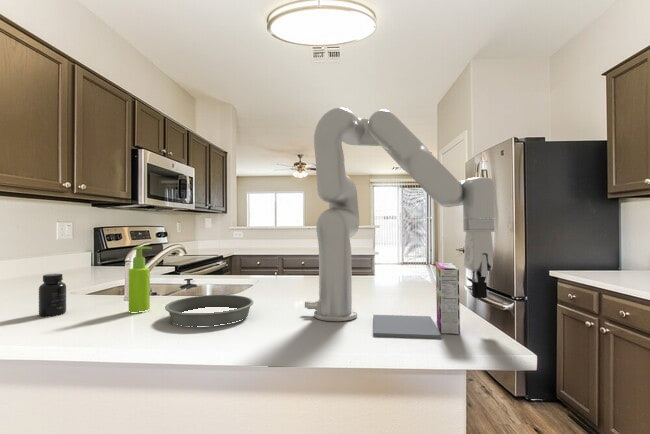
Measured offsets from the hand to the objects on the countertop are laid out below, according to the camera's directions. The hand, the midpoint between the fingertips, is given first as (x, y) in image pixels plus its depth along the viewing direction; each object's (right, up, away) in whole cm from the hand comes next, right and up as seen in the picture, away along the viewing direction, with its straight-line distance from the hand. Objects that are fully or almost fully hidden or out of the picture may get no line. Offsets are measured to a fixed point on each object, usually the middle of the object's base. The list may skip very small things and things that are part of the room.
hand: (479, 297), depth 99 cm
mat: (-19, -8, +2) cm, 21 cm away
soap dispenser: (-97, -9, +21) cm, 100 cm away
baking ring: (-73, -9, +13) cm, 75 cm away
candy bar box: (-8, -9, +1) cm, 12 cm away
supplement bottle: (-122, -9, +17) cm, 123 cm away
